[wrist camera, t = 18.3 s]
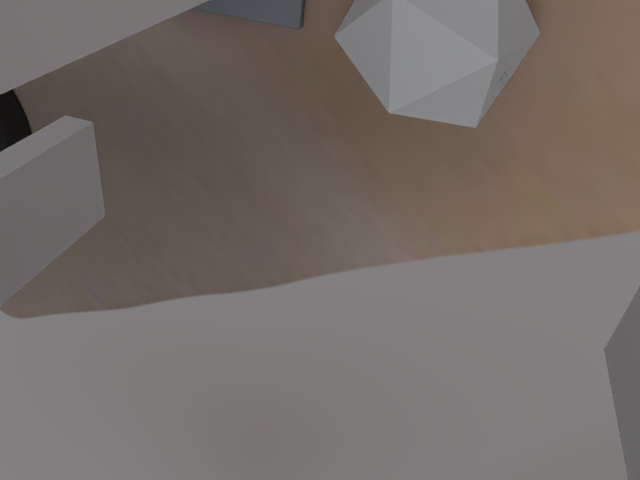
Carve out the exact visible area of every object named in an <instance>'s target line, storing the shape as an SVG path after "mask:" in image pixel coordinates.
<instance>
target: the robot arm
mask: <svg viewBox="0 0 640 480" xmlns="http://www.w3.org/2000/svg"><path fill="white" fill-rule="evenodd" d="M103 217H105V210H104V202H103V195H102V187H101V179H100V172H99V164H98V156H97V149H96V141H95V133H94V126H93V122H91V121H87V120H83V119H79V118H74V117H70V116H66V115H65V116H63V117H62V118H60V119H58V120H56V121H55V122H53V123H51V124H49V125H47V126H46V127H44V128H42V129H40V130H39V131H37V132H35V133H33V134H31V135H30V133H29V129H28V126H27V123H26V120H25V117H24V115H23V113H22V110H21V108H20V106H19V104H18V102H17V100H16V98H15V97H14V95H13V93H12V91H11V90H10V91H7V92H5V93H3V94H0V306H1V305H2V304H4V303H5V302H6V301H7V300H8V299H9V298H11V297H12V296H13V295H14V294H15V293H16V292H18V291H19V290H20V289H21V288H22V287H23V286H25V285H26V284H27V283H28V282H29V281H30V280H31V279H33V278H34V277H35V276H36V275H37V274H38V273H40V272H41V271H42V270H43V269H44V268H45V267H47V266H48V265H49V264H50V263H51V262H52V261H54V260H55V259H56V258H57V257H58V256H59V255H60V254H62V253H63V252H64V251H65V250H66V249H67V248H69V247H70V246H71V245H72V244H73V243H74V242H76V241H77V240H78V239H79V238H80V237H81V236H83V235H84V234H85V233H86V232H87V231H88V230H89V229H91V228H92V227H93V226H94V225H95V224H96V223H98V222H99V221H100V220H101V219H102V218H103ZM604 351H605V356H606V362H607V367H608V372H609V378H610V383H611V389H612V394H613V399H614V405H615V410H616V416H617V421H618V427H619V432H620V437H621V443H622V448H623V453H624V459H625V464H626V470H627V475H628V480H640V287H639V289H638V291H637V293H636V294H635V296H634V298H633V300H632V301H631V303H630V305H629V307H628V309H627V310H626V312H625V314H624V315H623V317H622V319H621V321H620V322H619V324H618V326H617V328H616V329H615V331H614V333H613V335H612V336H611V338H610V340H609V342H608V343H607V345H606V347H605V349H604Z"/></svg>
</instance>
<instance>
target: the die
mask: <svg viewBox="0 0 640 480" xmlns="http://www.w3.org/2000/svg"><path fill="white" fill-rule="evenodd" d="M539 35H540V32H539V29H538V27H537V25H536V22H535V20H534V18H533V16H532V13H531V11H530V9H529V6H528V4H527V2H526V0H355V1H354V2H353V4H352V6H351V8H350V9H349V11H348V13H347V14H346V16H345V18H344V20H343V21H342V23H341V25H340V26H339V28H338V30H337V32H336V33H335V35H334V38H335V39H336V40H337V42H338V43H339V45H340V46H341V47H342V49H343V50H344V52H345V53H346V54H347V56H348V57H349V58H350V60H351V61H352V63H353V64H354V65H355V67H356V68H357V70H358V71H359V72H360V74H361V75H362V77H363V78H364V79H365V81H366V82H367V84H368V85H369V86H370V88H371V89H372V91H373V92H374V93H375V95H376V96H377V97H378V99H379V100H380V102H381V103H382V104H383V106H384V107H385V109H386V110H387V111H388V113H391V114H397V115H403V116H409V117H414V118H420V119H426V120H432V121H438V122H444V123H450V124H455V125H461V126H467V127H473V128H476V127H477V125H478V124H479V123H480V121H481V120H482V118H483V117H484V115H485V114H486V112H487V111H488V109H489V108H490V107H491V105H492V104H493V102H494V101H495V99H496V98H497V96H498V95H499V93H500V92H501V91H502V89H503V88H504V86H505V85H506V83H507V82H508V80H509V79H510V77H511V76H512V75H513V73H514V72H515V70H516V69H517V67H518V66H519V64H520V63H521V61H522V60H523V59H524V57H525V56H526V54H527V53H528V51H529V50H530V48H531V47H532V45H533V44H534V43H535V41H536V40H537V38H538V37H539Z"/></svg>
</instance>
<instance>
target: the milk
mask: <svg viewBox="0 0 640 480" xmlns="http://www.w3.org/2000/svg"><path fill="white" fill-rule="evenodd" d="M207 1H209V0H0V94H3V93H5V92H7V91H10V90H12V89H14V88H16V87H19V86H21V85H23V84H25V83H27V82H30V81H32V80H34V79H36V78H38V77H41V76H43V75H45V74H47V73H50V72H52V71H54V70H56V69H58V68H61V67H63V66H65V65H67V64H69V63H72V62H74V61H76V60H78V59H81V58H83V57H85V56H87V55H89V54H92V53H94V52H96V51H98V50H100V49H103V48H105V47H107V46H109V45H112V44H114V43H116V42H118V41H120V40H123V39H125V38H127V37H129V36H131V35H134V34H136V33H138V32H140V31H143V30H145V29H147V28H149V27H151V26H154V25H156V24H158V23H160V22H162V21H165V20H167V19H169V18H171V17H174V16H176V15H178V14H180V13H182V12H185V11H187V10H189V9H191V8H194V7H196V6H198V5H200V4H202V3H205V2H207Z"/></svg>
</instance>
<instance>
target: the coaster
mask: <svg viewBox="0 0 640 480" xmlns="http://www.w3.org/2000/svg"><path fill="white" fill-rule="evenodd" d="M304 5H305V0H209V1H207V2H205V3H202V4H200V5H198V6H196V7H194V8H191V9H196V10H202V11H207V12H212V13H217V14H223V15H228V16H233V17H238V18H244V19H249V20H254V21H259V22H265V23H270V24H275V25H280V26H286V27H291V28H296V29H300V28H302V27H303V17H304Z"/></svg>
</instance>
